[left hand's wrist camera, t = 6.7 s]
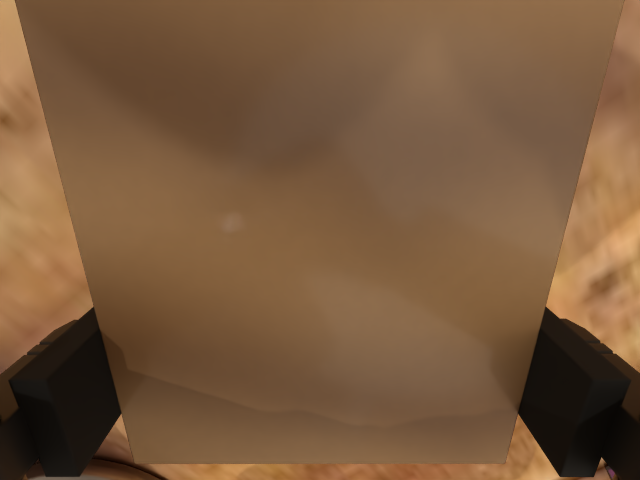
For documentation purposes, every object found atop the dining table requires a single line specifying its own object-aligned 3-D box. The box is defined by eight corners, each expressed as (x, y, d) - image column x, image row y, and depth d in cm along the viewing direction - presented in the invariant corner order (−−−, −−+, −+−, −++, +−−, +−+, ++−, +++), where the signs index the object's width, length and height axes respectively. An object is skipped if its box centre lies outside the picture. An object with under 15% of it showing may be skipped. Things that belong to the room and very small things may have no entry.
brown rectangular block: (168, -182, 12) (-241, -978, 3) (470, -181, 12) (877, -975, 3) (221, 298, 19) (133, 464, 10) (417, 298, 19) (506, 464, 10)
